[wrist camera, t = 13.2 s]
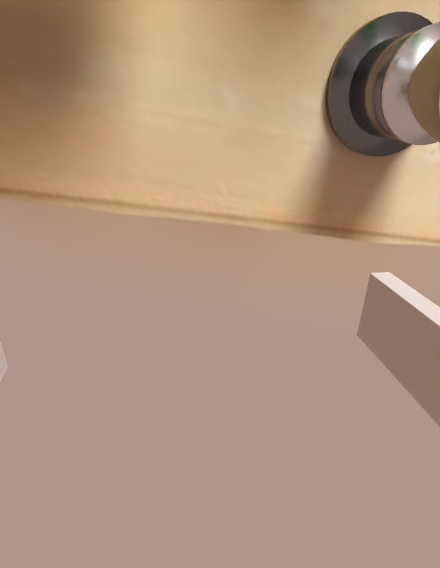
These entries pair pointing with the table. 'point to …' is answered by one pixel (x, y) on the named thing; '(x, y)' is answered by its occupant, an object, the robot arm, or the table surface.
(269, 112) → the table surface
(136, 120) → the table surface
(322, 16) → the table surface
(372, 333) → the robot arm
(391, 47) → the grey top hat
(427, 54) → the flower pot
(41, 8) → the table surface
